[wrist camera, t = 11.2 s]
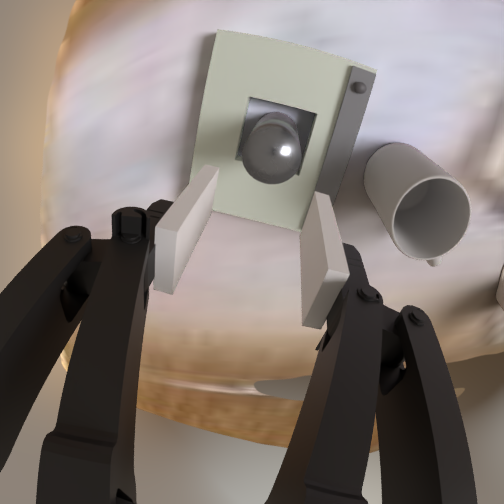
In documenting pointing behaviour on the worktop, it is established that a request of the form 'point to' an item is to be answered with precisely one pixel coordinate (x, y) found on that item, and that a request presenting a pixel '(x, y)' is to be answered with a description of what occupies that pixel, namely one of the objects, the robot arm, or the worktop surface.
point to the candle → (501, 291)
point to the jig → (288, 93)
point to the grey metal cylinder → (272, 149)
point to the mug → (417, 202)
